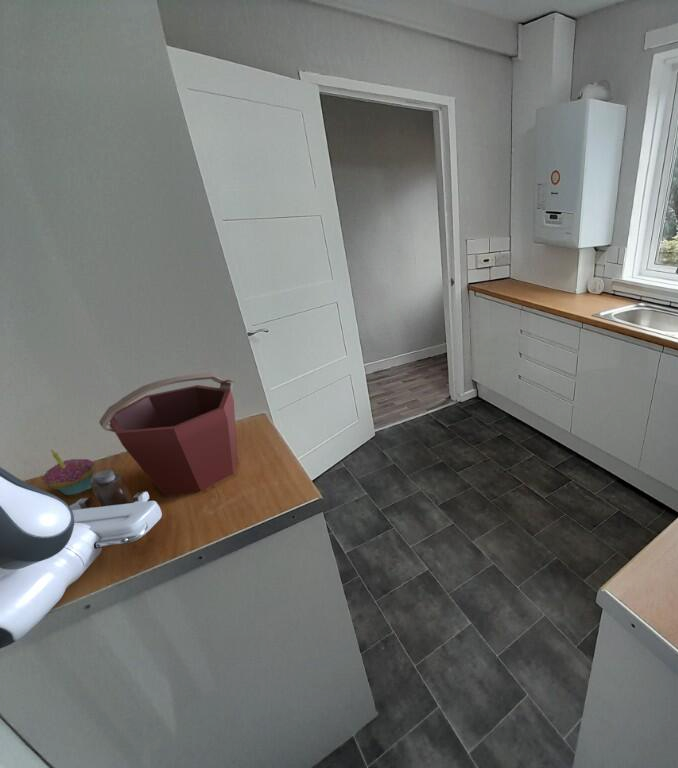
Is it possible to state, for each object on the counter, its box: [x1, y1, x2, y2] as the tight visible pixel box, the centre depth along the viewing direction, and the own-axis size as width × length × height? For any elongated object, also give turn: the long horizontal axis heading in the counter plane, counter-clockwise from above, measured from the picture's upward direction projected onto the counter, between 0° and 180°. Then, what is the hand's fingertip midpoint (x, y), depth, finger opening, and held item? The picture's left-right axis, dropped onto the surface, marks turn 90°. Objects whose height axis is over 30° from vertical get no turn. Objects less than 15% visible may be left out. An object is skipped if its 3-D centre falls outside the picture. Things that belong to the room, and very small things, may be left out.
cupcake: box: [42, 449, 98, 496], centre depth 92 cm, size 9×8×12 cm
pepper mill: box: [91, 469, 135, 507], centre depth 80 cm, size 4×4×14 cm
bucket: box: [98, 372, 238, 496], centre depth 95 cm, size 24×22×25 cm
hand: (116, 497), depth 80 cm, fingers open, 8 cm apart
